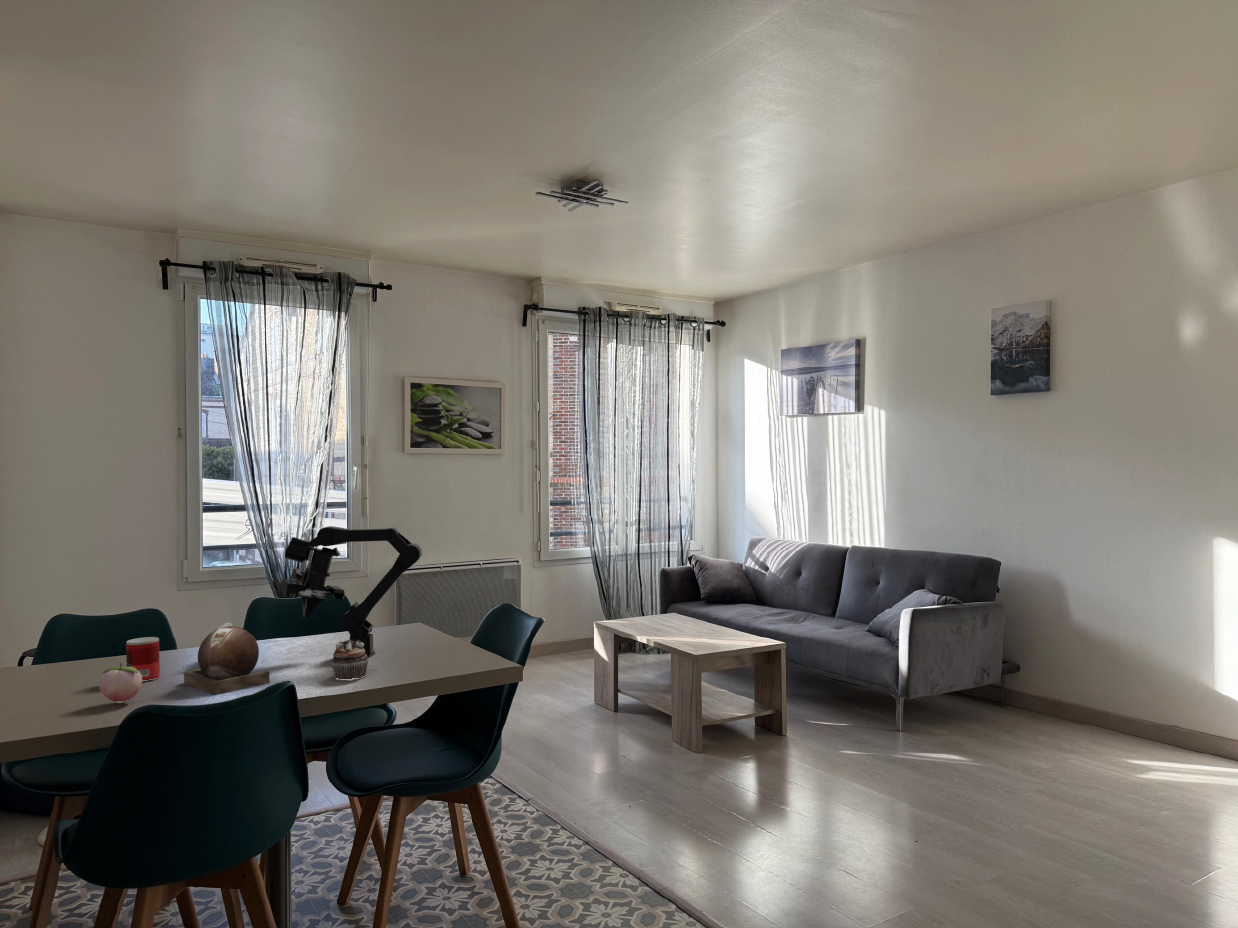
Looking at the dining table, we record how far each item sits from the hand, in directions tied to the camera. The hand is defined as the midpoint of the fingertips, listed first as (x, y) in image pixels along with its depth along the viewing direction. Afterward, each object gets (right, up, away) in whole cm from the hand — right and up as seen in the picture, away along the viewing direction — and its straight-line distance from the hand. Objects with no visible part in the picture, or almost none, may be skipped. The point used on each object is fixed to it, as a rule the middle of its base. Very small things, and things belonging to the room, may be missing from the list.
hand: (305, 617), depth 259 cm
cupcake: (+22, -12, -25) cm, 35 cm away
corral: (-11, -13, -28) cm, 33 cm away
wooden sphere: (-10, -13, -28) cm, 32 cm away
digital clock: (-23, -13, -1) cm, 26 cm away
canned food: (-36, -13, -22) cm, 45 cm away
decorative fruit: (-28, -13, -47) cm, 56 cm away
